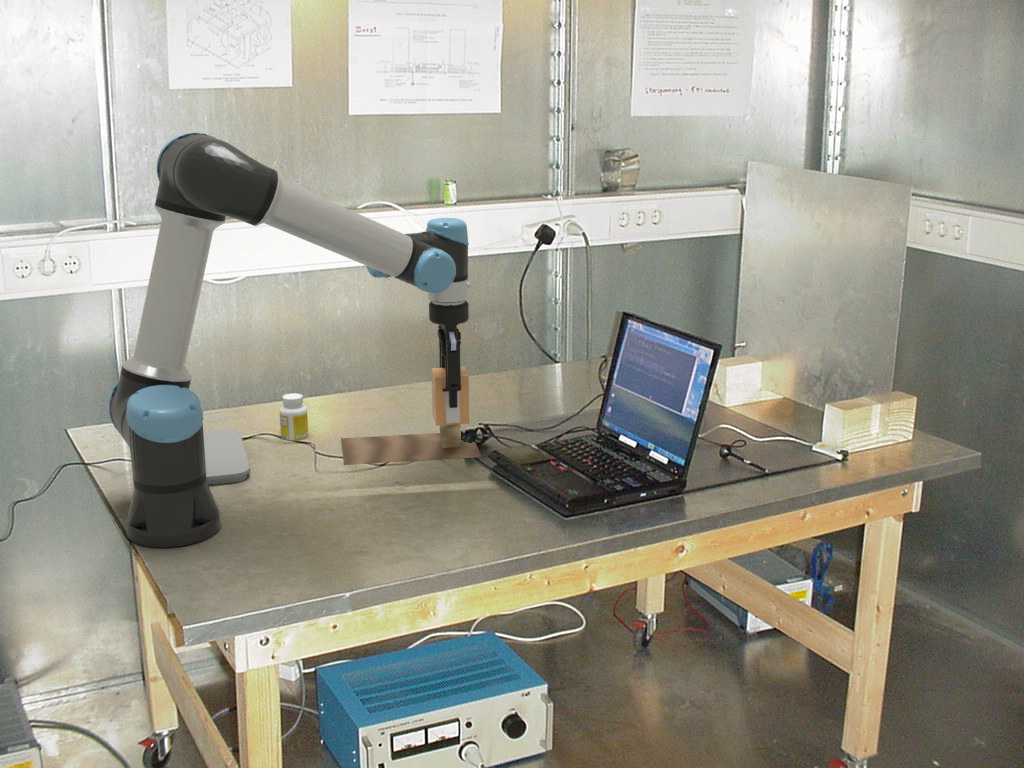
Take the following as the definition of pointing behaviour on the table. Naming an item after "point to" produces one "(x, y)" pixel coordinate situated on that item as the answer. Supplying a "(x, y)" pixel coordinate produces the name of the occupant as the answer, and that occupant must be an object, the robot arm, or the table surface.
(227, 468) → the tablet
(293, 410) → the supplement bottle
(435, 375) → the upright tan block
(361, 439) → the walnut board
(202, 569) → the table surface
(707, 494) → the table surface
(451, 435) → the birch post
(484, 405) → the table surface
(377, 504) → the table surface
